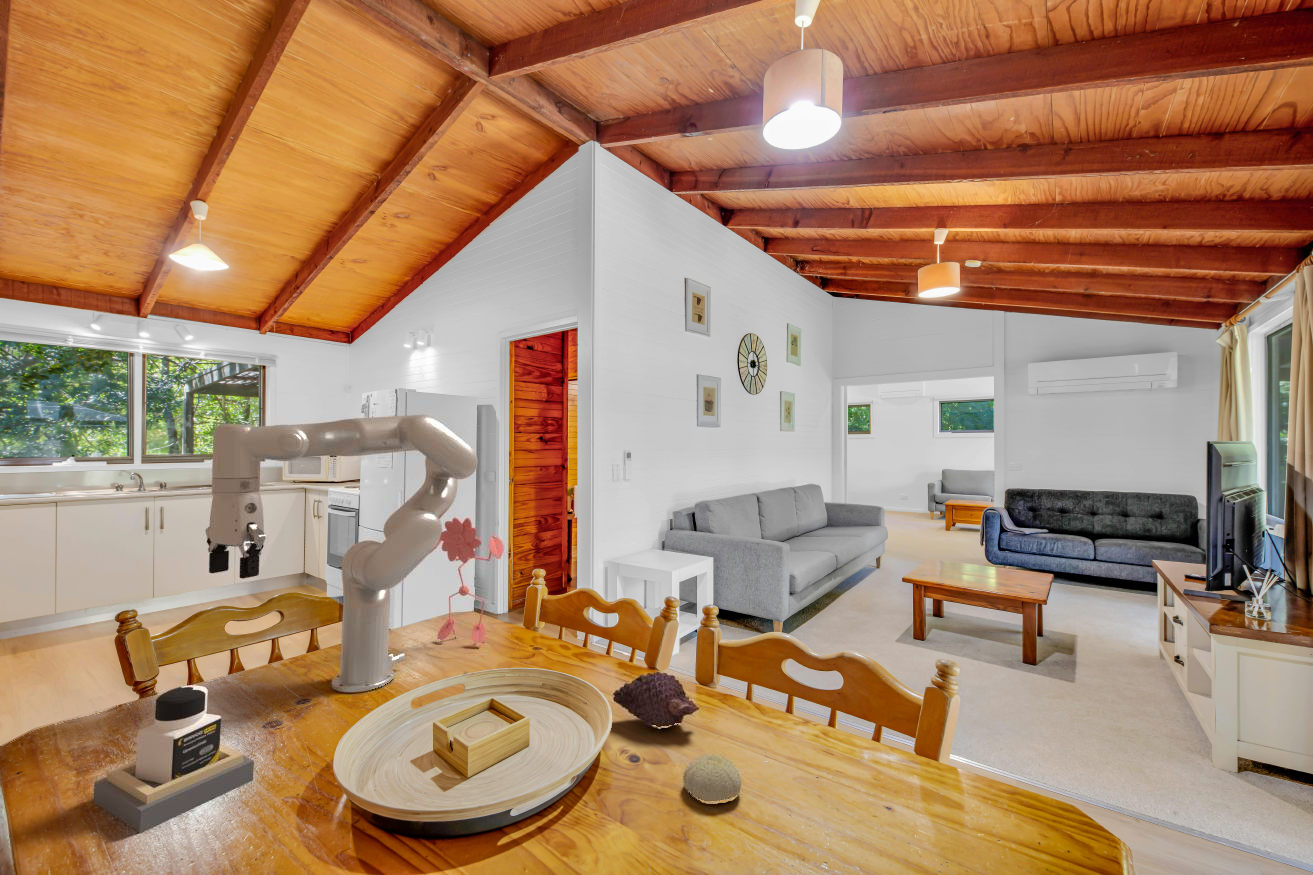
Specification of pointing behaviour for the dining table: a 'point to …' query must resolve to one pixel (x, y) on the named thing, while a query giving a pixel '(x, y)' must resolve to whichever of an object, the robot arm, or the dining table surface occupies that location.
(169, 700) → the medicine bottle
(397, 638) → the dining table surface
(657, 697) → the purple conch shell
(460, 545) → the flower headed figure
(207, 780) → the pedestal
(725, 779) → the sea urchin shell
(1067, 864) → the dining table surface
